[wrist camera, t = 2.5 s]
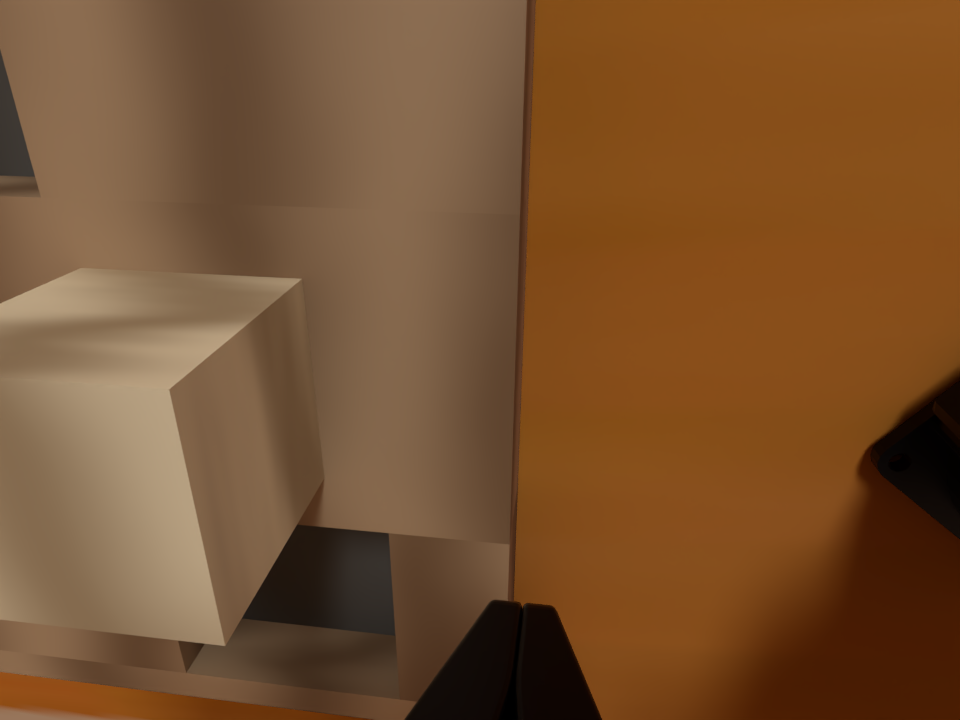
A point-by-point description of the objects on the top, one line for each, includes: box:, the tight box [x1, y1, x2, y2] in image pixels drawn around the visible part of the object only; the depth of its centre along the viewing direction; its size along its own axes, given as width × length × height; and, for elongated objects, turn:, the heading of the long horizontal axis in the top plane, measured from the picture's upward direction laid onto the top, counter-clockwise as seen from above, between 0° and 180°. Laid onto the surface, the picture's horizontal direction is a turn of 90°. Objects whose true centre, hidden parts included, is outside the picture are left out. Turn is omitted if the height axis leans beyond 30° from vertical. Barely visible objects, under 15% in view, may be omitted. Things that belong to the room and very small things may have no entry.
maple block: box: [0, 268, 324, 646], centre depth 13 cm, size 5×5×5 cm
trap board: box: [0, 0, 536, 720], centre depth 17 cm, size 24×22×2 cm
